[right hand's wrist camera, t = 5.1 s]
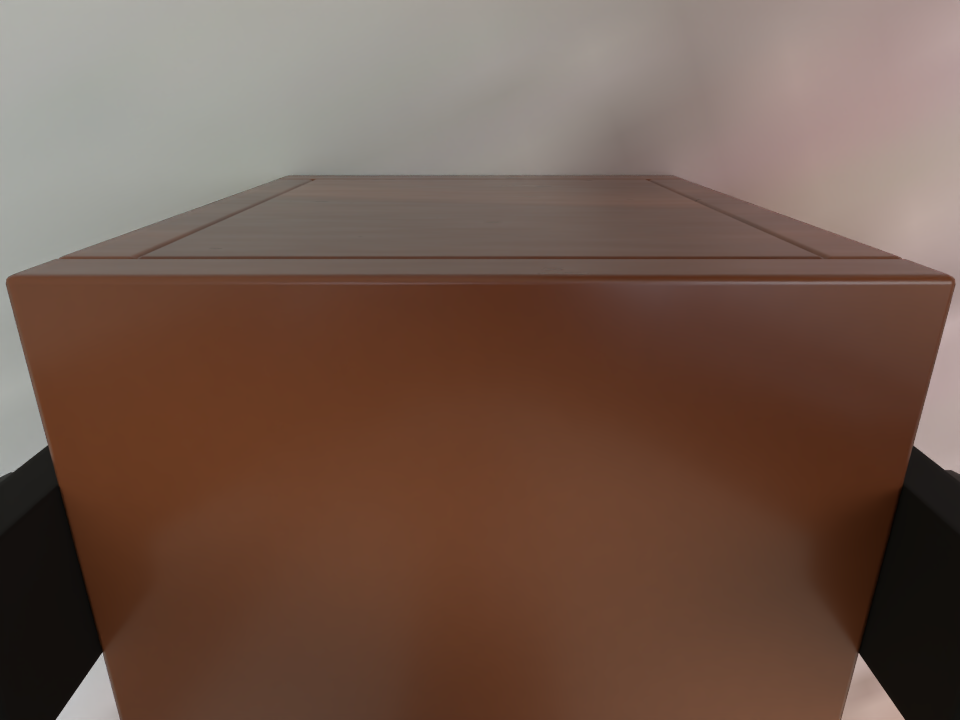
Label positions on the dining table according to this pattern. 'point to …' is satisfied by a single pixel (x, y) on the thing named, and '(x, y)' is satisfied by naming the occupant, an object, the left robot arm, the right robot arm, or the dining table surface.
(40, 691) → the right robot arm
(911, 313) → the cabinet
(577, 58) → the dining table surface
